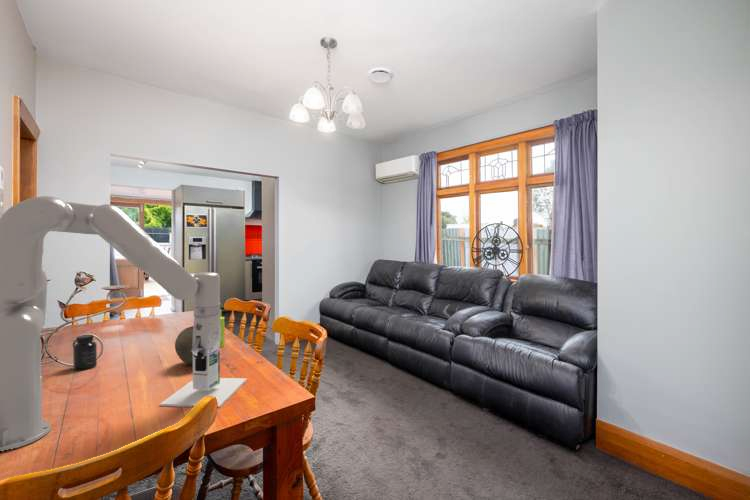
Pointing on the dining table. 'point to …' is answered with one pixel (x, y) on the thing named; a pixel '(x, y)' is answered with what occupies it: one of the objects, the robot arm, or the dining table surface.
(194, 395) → the mat
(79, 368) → the supplement bottle
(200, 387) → the syrup box
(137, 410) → the dining table surface
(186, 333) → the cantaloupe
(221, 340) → the soap dispenser
